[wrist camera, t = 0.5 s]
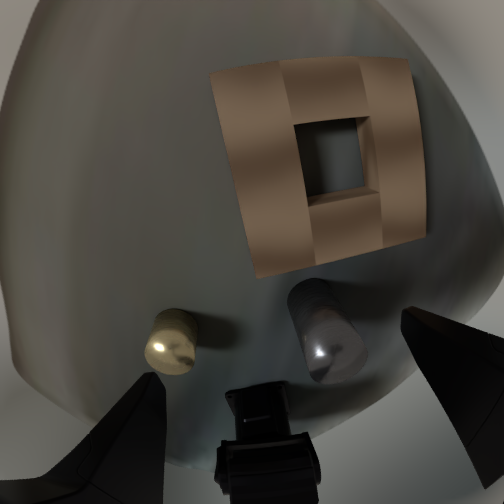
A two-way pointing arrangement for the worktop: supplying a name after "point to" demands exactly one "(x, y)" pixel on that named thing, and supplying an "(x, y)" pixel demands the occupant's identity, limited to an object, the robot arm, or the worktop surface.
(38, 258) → the worktop surface
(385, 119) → the hole plate
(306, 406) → the worktop surface
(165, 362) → the short pin
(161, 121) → the worktop surface
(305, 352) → the tall pin
